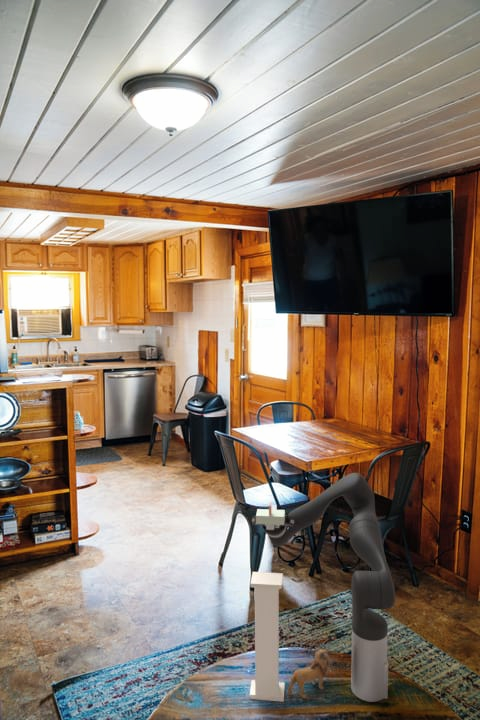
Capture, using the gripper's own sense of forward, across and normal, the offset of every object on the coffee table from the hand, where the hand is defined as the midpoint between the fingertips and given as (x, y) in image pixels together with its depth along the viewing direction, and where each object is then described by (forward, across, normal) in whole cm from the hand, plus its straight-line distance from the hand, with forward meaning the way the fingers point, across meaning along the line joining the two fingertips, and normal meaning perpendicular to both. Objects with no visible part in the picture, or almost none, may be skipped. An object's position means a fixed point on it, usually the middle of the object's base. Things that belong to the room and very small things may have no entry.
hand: (271, 517), depth 160 cm
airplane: (-3, 0, -1) cm, 3 cm away
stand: (-5, 0, -45) cm, 45 cm away
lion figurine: (-7, -11, -44) cm, 46 cm away
